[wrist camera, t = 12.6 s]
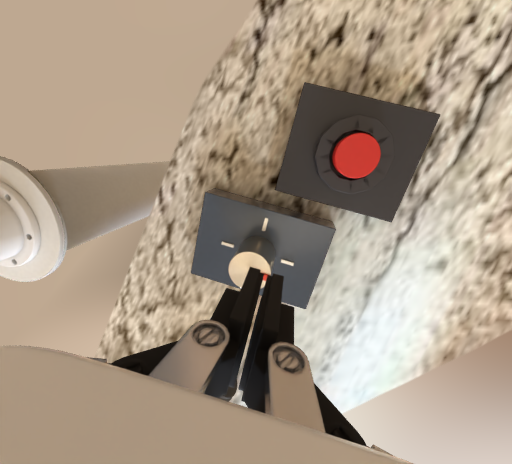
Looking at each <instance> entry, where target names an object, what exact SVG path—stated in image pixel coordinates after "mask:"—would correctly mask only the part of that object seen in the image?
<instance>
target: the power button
mask: <svg viewBox="0 0 512 464" xmlns="http://www.w3.org/2000/svg"><path fill="white" fill-rule="evenodd" d="M380 156H381V151H380V146H379V144H378V142H377V141H376V139H375V138H374V137H372V136H371V135H369V134H366V133H355V134H352V135H349V136H346V137H344V138H343V139H342V140H340V141H339V142H338V144H337V145H336V147H335V148H334V151H333V155H332V160H333V165H334V167H335V168H336V170H337V171H338V172H339V173H341V174H342V175H344V176H346V177H349V178H361V177H364V176H366V175H368V174H370V173H371V172H372V171H373V170H374V169H375V168H376V166H377V165H378V163H379V160H380Z"/></svg>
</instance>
